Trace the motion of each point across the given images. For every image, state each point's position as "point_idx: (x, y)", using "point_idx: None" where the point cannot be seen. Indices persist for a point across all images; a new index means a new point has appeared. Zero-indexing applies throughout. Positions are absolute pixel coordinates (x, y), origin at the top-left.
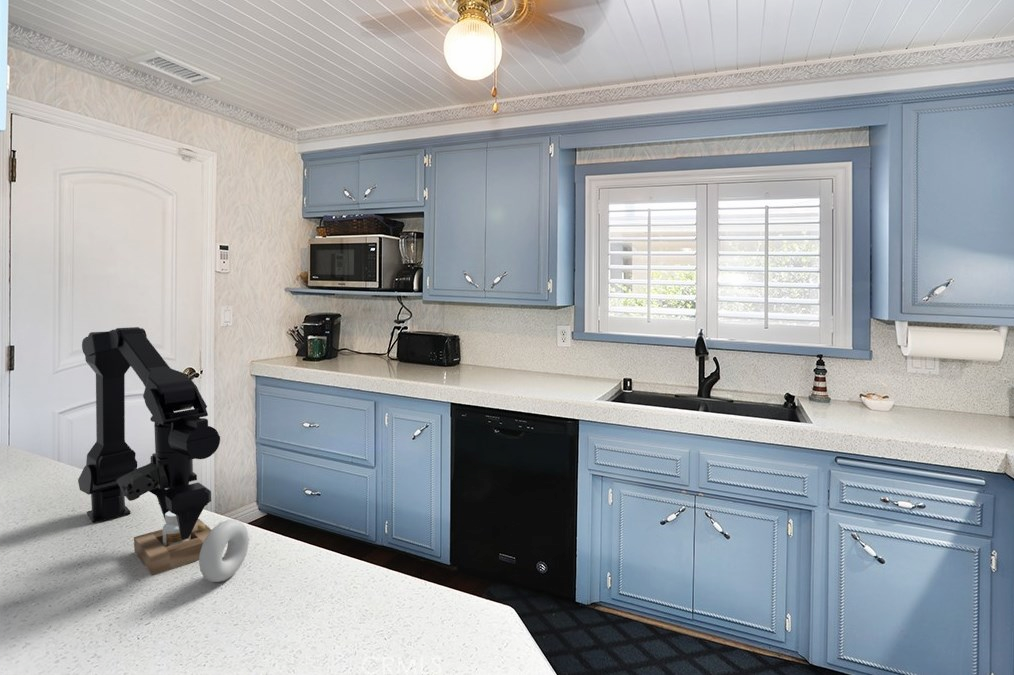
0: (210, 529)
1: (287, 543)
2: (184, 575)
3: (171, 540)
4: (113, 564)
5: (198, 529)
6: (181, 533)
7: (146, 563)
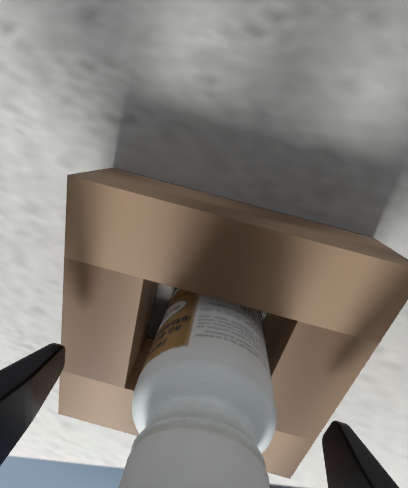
0: None
1: (16, 447)
2: (27, 230)
3: (167, 327)
4: (362, 127)
5: None
6: (5, 367)
7: (181, 191)
